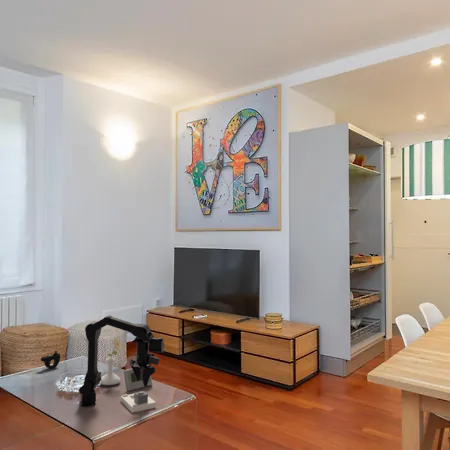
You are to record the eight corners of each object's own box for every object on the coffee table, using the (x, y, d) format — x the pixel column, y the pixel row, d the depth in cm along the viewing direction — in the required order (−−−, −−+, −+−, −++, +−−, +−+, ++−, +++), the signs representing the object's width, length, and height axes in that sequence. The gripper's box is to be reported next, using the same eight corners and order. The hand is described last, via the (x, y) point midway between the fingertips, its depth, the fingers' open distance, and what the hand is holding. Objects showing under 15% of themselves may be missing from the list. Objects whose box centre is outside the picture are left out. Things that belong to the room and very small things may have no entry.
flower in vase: (109, 388, 227) (110, 342, 228) (94, 384, 233) (96, 339, 234) (126, 382, 238) (127, 337, 239) (112, 378, 244) (113, 335, 245)
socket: (131, 412, 196) (132, 405, 197) (120, 401, 210) (120, 394, 210) (155, 407, 203) (155, 401, 203) (143, 396, 216) (143, 390, 216)
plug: (137, 409, 200) (138, 394, 200) (134, 406, 204) (134, 391, 204) (147, 407, 202) (148, 393, 203) (143, 404, 206) (144, 389, 207)
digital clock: (126, 392, 222) (126, 372, 223) (120, 387, 230) (121, 367, 230) (154, 387, 231) (155, 367, 231) (148, 382, 239) (149, 363, 239)
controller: (61, 366, 264) (61, 350, 264) (43, 371, 253) (43, 354, 254) (57, 365, 266) (57, 349, 266) (39, 370, 256) (39, 353, 256)
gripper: (165, 353, 200) (165, 386, 200) (150, 345, 216) (149, 375, 216) (143, 357, 194) (143, 391, 194) (129, 348, 210) (129, 379, 210)
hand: (141, 383), depth 203 cm, fingers open, 9 cm apart
